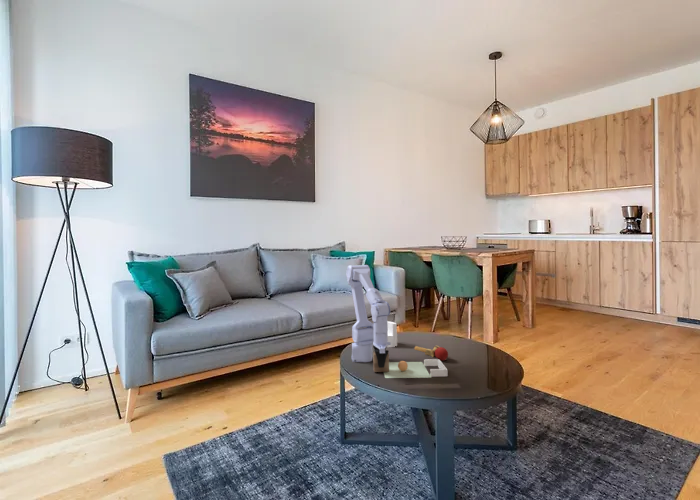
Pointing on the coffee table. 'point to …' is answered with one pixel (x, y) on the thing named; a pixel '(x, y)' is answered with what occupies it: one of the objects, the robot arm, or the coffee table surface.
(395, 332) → the cylinder with rectangular tab
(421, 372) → the pitch
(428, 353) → the kendama
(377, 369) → the tall cardboard box
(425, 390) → the coffee table surface
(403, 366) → the ball
